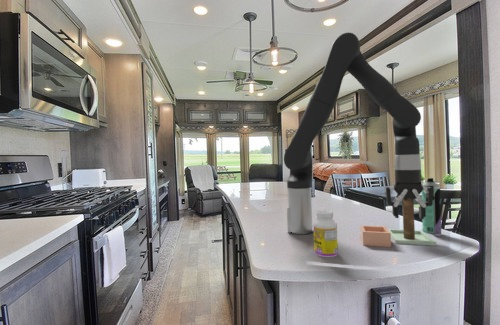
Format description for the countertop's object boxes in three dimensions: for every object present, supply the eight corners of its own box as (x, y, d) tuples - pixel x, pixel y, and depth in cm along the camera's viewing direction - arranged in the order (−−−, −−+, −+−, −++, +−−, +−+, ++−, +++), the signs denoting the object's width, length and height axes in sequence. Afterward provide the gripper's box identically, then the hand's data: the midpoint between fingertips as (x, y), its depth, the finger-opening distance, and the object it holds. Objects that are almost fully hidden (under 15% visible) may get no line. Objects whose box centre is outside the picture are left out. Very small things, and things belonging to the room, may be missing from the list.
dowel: (405, 239, 84) (403, 199, 84) (402, 236, 87) (401, 198, 87) (416, 239, 83) (414, 200, 83) (413, 236, 86) (411, 198, 86)
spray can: (444, 236, 88) (443, 178, 88) (427, 236, 90) (425, 178, 89) (436, 231, 94) (435, 177, 94) (420, 231, 95) (418, 177, 95)
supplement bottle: (311, 252, 78) (309, 210, 78) (332, 250, 78) (331, 209, 78) (318, 260, 71) (317, 214, 71) (341, 259, 72) (340, 213, 72)
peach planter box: (363, 247, 80) (362, 231, 80) (360, 240, 88) (360, 225, 88) (391, 249, 78) (390, 233, 78) (385, 241, 85) (385, 226, 85)
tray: (395, 245, 81) (395, 240, 81) (387, 234, 93) (386, 229, 93) (436, 248, 78) (436, 242, 78) (421, 235, 90) (421, 230, 90)
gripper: (385, 169, 84) (387, 219, 84) (437, 168, 80) (438, 221, 80) (381, 168, 91) (382, 215, 91) (428, 167, 87) (429, 216, 87)
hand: (408, 217), depth 85 cm, fingers open, 6 cm apart
